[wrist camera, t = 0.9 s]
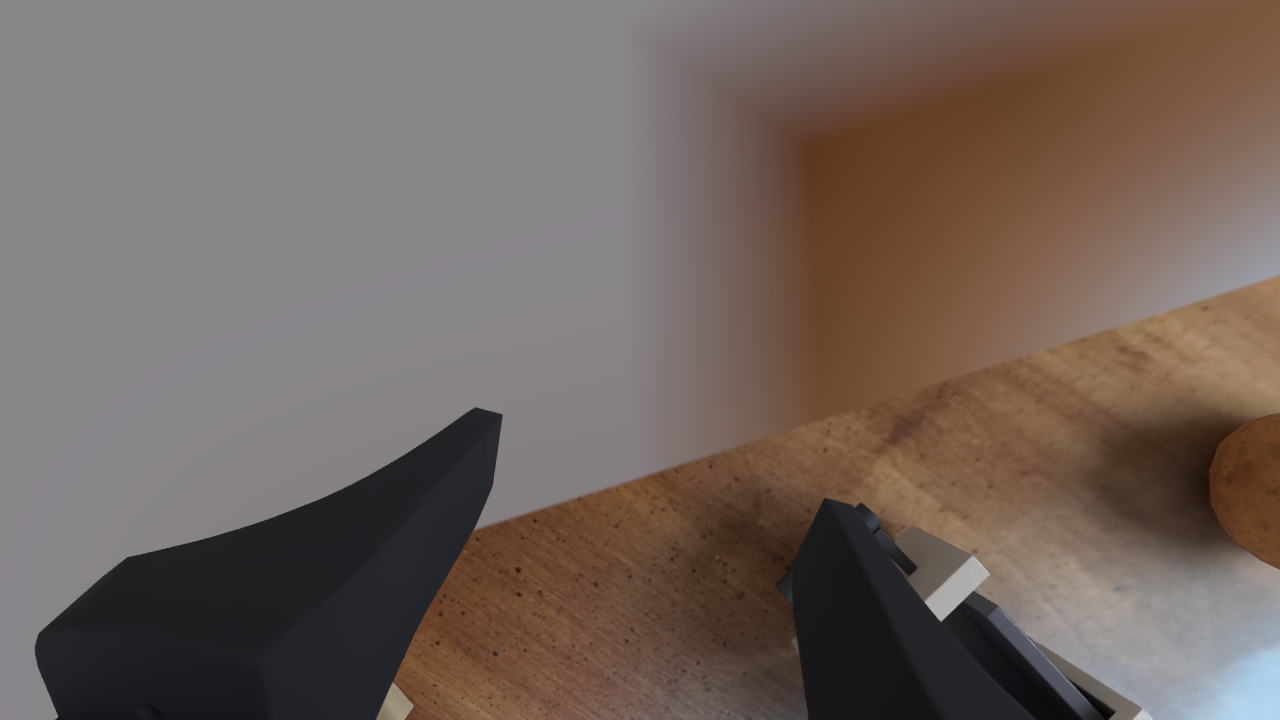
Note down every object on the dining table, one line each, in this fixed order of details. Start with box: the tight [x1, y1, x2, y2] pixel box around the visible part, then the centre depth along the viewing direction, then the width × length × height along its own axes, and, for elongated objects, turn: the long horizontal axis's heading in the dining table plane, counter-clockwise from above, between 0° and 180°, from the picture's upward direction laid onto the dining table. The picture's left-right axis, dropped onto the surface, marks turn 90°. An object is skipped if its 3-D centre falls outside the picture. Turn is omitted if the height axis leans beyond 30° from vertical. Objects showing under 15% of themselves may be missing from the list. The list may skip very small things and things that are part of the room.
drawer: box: [775, 503, 1106, 720], centre depth 30 cm, size 16×9×6 cm, turn 43°
